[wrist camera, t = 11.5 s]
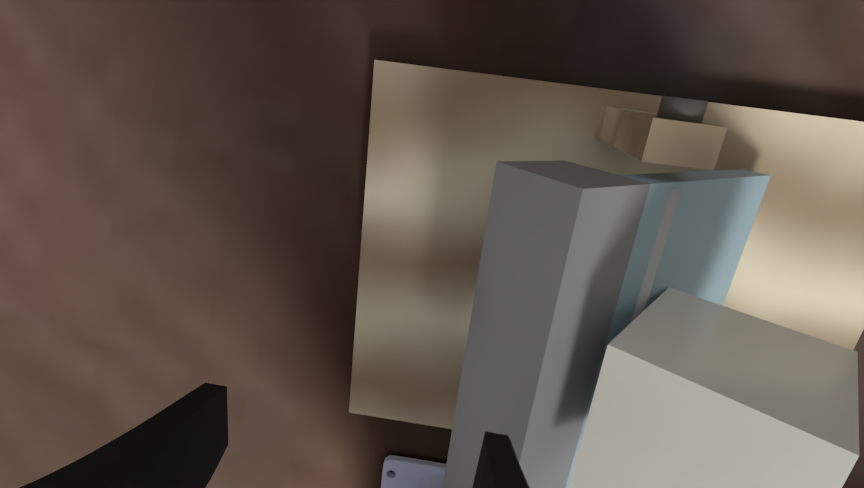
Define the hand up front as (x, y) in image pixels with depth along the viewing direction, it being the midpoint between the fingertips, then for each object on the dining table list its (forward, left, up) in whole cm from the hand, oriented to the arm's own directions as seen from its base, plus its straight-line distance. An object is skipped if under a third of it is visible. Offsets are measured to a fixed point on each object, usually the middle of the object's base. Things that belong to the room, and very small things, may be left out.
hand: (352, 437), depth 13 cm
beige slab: (+1, -9, -10) cm, 14 cm away
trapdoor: (+1, -7, -7) cm, 10 cm away
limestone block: (+1, -11, -4) cm, 12 cm away
